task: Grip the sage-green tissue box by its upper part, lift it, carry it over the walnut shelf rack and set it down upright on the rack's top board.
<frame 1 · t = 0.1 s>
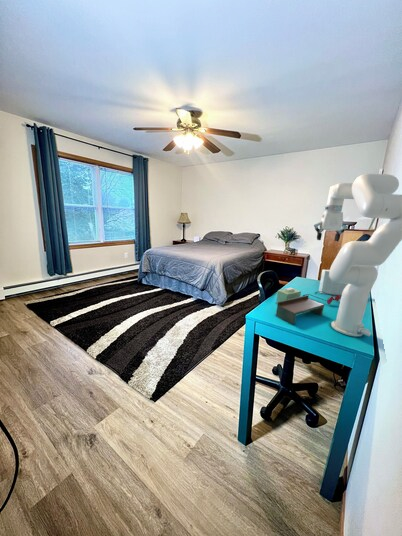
hand: (327, 240, 122), 37 cm above the table, tool pointing down, fingers open, 9 cm apart
glasses: (321, 299, 136), on the table
rack: (299, 315, 112), on the table
tissue box: (287, 303, 126), on the table
skincare box: (335, 293, 148), on the table
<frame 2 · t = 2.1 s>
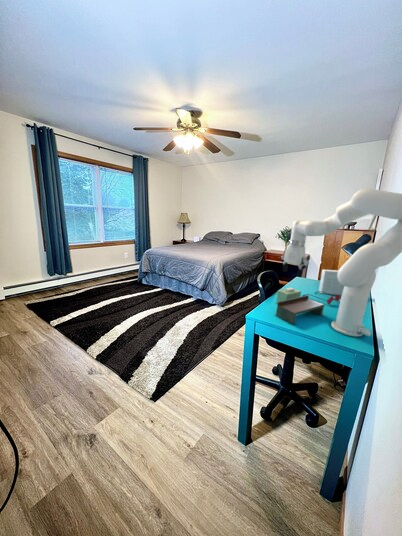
hand: (291, 273, 122), 18 cm above the table, tool pointing down, fingers open, 9 cm apart
nothing on the table moved.
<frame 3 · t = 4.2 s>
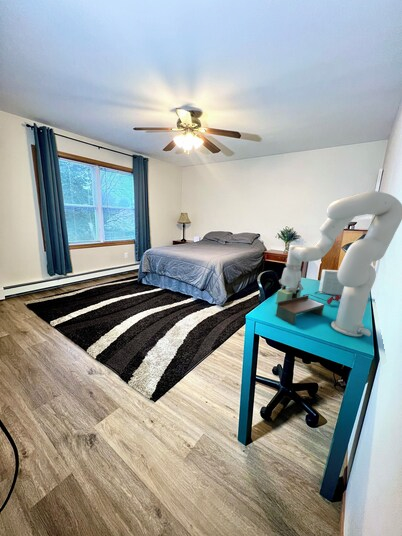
hand: (288, 296, 125), 4 cm above the table, tool pointing down, fingers closed on tissue box, 6 cm apart
tissue box: (287, 303, 126), on the table, touching gripper
everything else where it was.
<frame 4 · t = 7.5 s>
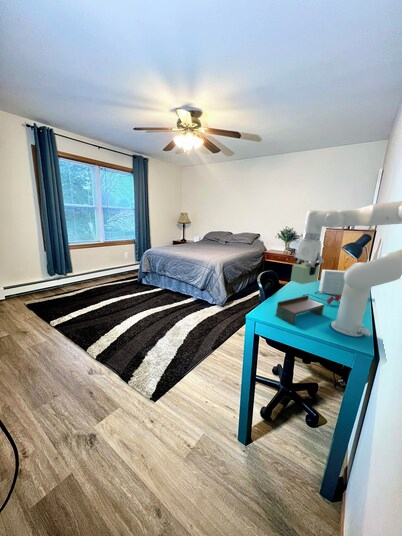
hand: (305, 272, 108), 22 cm above the table, tool pointing down, fingers closed on tissue box, 6 cm apart
tissue box: (303, 280, 109), point 18 cm above the table, touching gripper
everything else where it was.
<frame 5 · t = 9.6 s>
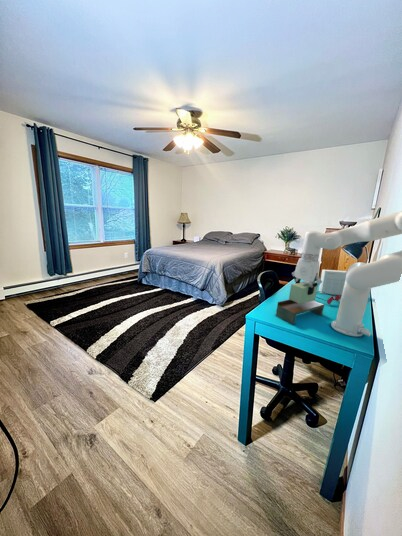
hand: (303, 291, 109), 13 cm above the table, tool pointing down, fingers closed on tissue box, 6 cm apart
tissue box: (301, 299, 110), point 9 cm above the table, touching gripper
everything else where it was.
when the fingers open (10 cm above the table, at t = 10.9 s): tissue box stays where it is, resting on rack.
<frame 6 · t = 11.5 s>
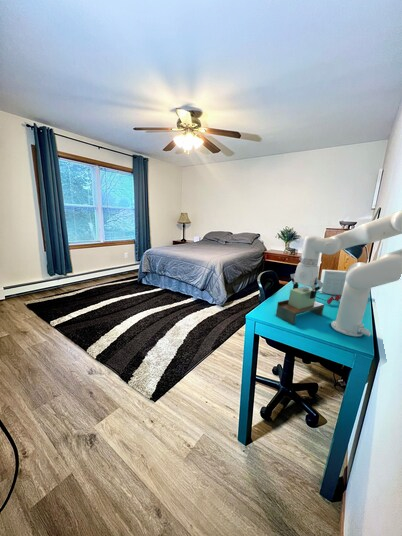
hand: (303, 294, 109), 11 cm above the table, tool pointing down, fingers open, 9 cm apart
tissue box: (301, 304, 110), point 6 cm above the table, touching rack
everything else where it was.
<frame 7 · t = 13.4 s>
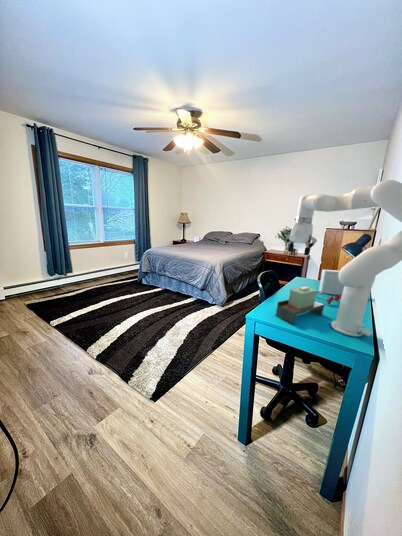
hand: (298, 253, 116), 30 cm above the table, tool pointing down, fingers open, 9 cm apart
nothing on the table moved.
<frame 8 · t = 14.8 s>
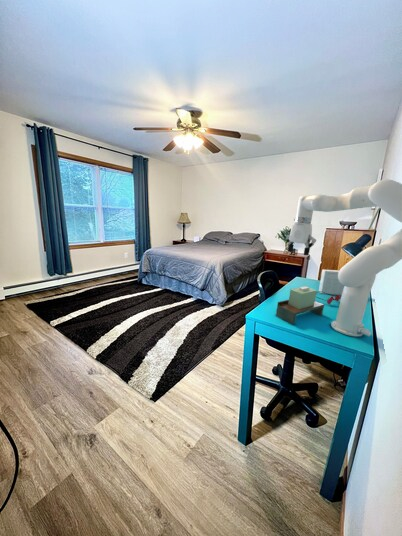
hand: (297, 253, 116), 30 cm above the table, tool pointing down, fingers open, 9 cm apart
nothing on the table moved.
at the end: tissue box inside the target area on the rack (0.1 cm from its centre), point 6.0 cm above the rack's base; tissue box tilted 0°; the gripper is holding nothing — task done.
